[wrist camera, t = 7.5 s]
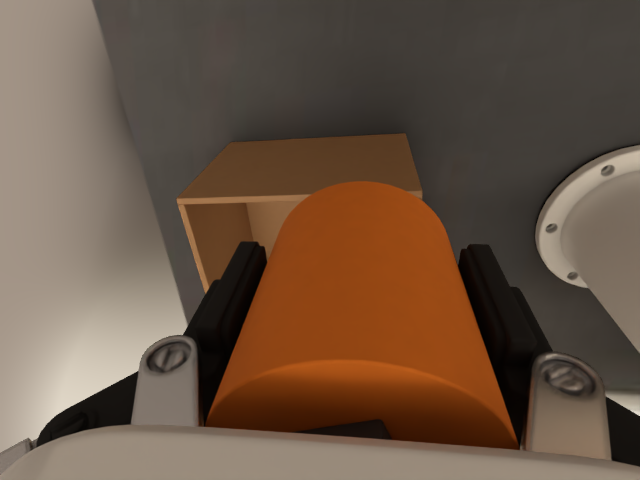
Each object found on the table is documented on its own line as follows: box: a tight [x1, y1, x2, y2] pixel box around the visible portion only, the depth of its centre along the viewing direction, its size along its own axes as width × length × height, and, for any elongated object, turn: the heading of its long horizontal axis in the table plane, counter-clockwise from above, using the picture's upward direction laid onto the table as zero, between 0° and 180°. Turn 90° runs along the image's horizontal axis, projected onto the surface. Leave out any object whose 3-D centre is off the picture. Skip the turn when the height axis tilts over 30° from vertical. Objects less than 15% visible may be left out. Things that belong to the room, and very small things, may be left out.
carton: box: [176, 133, 422, 294], centre depth 29 cm, size 14×14×10 cm
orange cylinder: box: [205, 181, 519, 450], centre depth 10 cm, size 6×6×9 cm
